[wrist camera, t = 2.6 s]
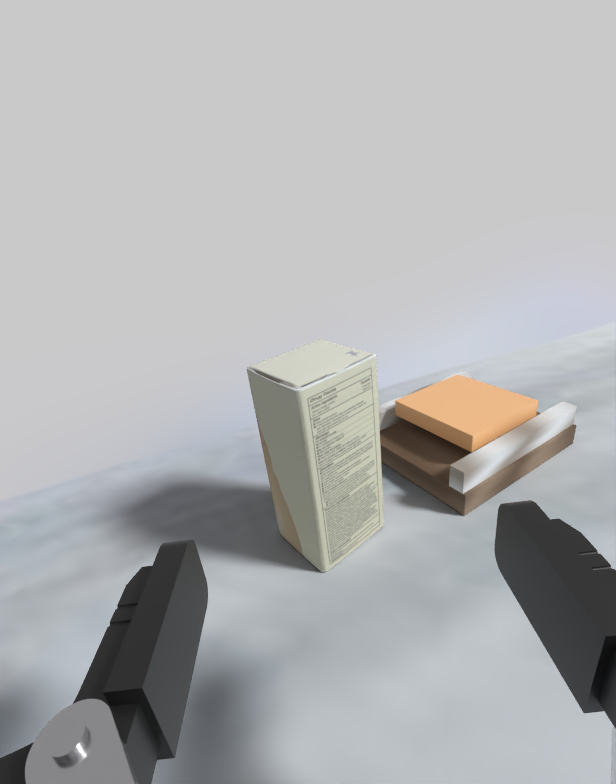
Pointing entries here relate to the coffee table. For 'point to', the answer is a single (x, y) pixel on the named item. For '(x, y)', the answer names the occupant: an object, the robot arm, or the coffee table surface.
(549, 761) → the coffee table surface
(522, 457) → the rail board
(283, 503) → the box
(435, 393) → the plate
